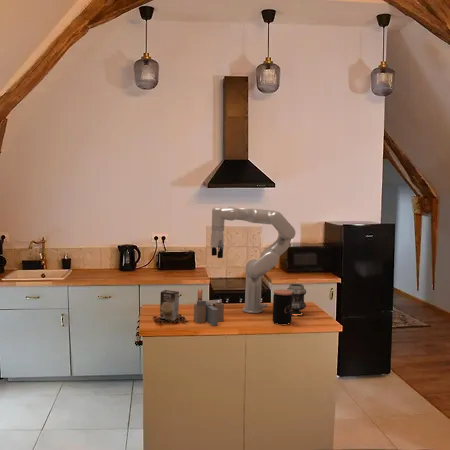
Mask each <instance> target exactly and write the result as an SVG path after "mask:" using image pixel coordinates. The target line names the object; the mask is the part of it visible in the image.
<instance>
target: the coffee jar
mask: <svg viewBox="0 0 450 450" xmlns="http://www.w3.org/2000/svg"><path fill="white" fill-rule="evenodd" d="M272 300H273V301H272V320H271V321H272V323H273V322H274V324H275V323H278V324H288V323H290V324H291V322H292V317H293V316H292V291H289V290H287V289H274V290H273V299H272Z"/></svg>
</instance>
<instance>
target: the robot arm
mask: <svg viewBox="0 0 450 450" xmlns="http://www.w3.org/2000/svg"><path fill="white" fill-rule="evenodd" d="M211 210H212V211H211V234H210V235H211V236H210V247H211V256H215V257H216V256H217V258H218V259H223V257H224V249H225V248H224V246H225V244H224V242H225V241H224V240H225V239H224V232H225V220H226V221H238V220H239V221H243V222H248V223H252V224H260V225H261V224H263V225H272V227H273V228H274V229H275V230H276V231H277V232H278V233H277V238H276V240H274V242H273V243H272V244H270V245H269V246H268V247H266V248H265V249H263V251H262V252H261V253H260V258H258V259H253V258H252V259H249V260H248V261H247V262H246V264H245V291H244V292H245V293H244V295H245V296H244V307H242V308H241V310H242V312H244V313H248V314H261V313H263V312H264V311H263V309H264V308H268V304H267V303H266V304H265V303H262V302H261V300H262V299H261V298H262V277H263V276H264V275H266V274H267V273H268V272H270V271H271V270H272V269H273V268H275V267H276V266H277V264H278V262H279V260H280V256H281V255H283V254H284V253H285V252H287V250H288V249H289V247H290V245H291V241H292V239H294V238H295V236H296V230H295V228H294V226H293V225H292V224H291V223H290V222H289V221H288V220H287V218H286V217H285V216H284V215H283V214H282V213H281V212H280V211H277V210H270V209H261V208H260V209H258V208H243V207H233V206H228V207H226V208H223V207H213V208H212V209H211ZM260 312H261V313H260Z"/></svg>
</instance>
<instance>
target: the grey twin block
mask: <svg viewBox="0 0 450 450" xmlns="http://www.w3.org/2000/svg"><path fill="white" fill-rule="evenodd" d="M224 310H225V303H223V302H221V304H206V300H202V301H198V300H196V303H194V305H193V322H194V323H196V324H203V323H205V324H206V322H207V323H208V324H209V325H210V326H212V327H217V326H219V324H218V322H224V319H225V316H224V314H225V313H224V312H225V311H224Z"/></svg>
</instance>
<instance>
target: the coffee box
mask: <svg viewBox="0 0 450 450" xmlns="http://www.w3.org/2000/svg"><path fill="white" fill-rule="evenodd" d="M159 303H160V305H159V309H160V310H159V319H160V318H164V319H171V320H175V319H176V318H177V317H178V318H179V305H180V304H179V303H180V291H176V290H169V289H164V290H162V291H160V302H159Z"/></svg>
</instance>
